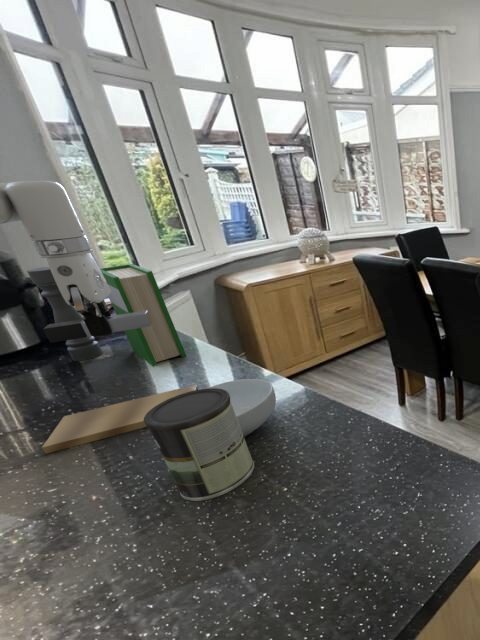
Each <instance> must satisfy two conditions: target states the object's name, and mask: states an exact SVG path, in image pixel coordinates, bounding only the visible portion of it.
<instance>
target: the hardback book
mask: <svg viewBox="0 0 480 640" xmlns="http://www.w3.org/2000/svg"><path fill="white" fill-rule="evenodd" d="M100 270H101V272H102V274H103V276H104V278H105V280H106V282H107V284H108V286H109V288H110V290H111V293H110V295H109V296H108V299H109V301H110V304H111V306H112V308H113V310H114V312H115V315H120V314H127V313H134V312H140V311H148V313H149V315H150V318H151V320H152V322H153V323H152V324H151V326H149V327H143V328H137V329H131V330H125V331H123V332H124V334H125V335H126V338H127V340H128V342H129V344H130V347H131V348H132V351H133V352H134V353H135V354H136V355H137V356H139V357H140V358H141V359H143V360H144V361H145V362H147V363H148V364H149V365H151V366H152V367H156V366H158V362H162V361H164V360H168V359H171V358H175V357H178V356H180V357H181V358H185V357H187V354H186V352H185V349H184V347H183V344H182V342H181V339H180V337H179V334H178V331H177V329H176V327H175V324H174V322H173V319H172V317H171V315H170V312H169V309H168V307H167V305H166V303H165V300H164V297H163V294H162V292H161V290H160V288H159V285H158V283H157V280H156V278H155V275H154V273H153V271H152V270H151V269H148V268H144V267H142V266H140V265H136V264H134V263H128V264H127V263H126V264H122V265H121V264H120V265H115V266H114V265H113V266H109V267H102V268H100Z"/></svg>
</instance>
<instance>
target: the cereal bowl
mask: <svg viewBox="0 0 480 640" xmlns="http://www.w3.org/2000/svg"><path fill="white" fill-rule="evenodd" d="M208 388H218V389H223V390H226V391H227V392H228V393H229V395H230V401H231V404H232V406H233V409H234V412H235V415H236V417H237V420H238V423H239V425H240V428H241V431H242V433H243V436H244V438H245V437H247V436H249V435H250V434H251V433H253V432H254V431H255V430H257V429H258V428H260V427H261V426H262V425H263V424H265V422H267V421H268V419H270V417H271V415H272V414H273V412H274V410H275V408H276V404H277V403H276V402H277V400H276V399H277V397H276V393H275V389H274V386H273V384H272V383H271V382H270V381H268V380H265V379H260V378H243V379H235V380H229V381H226V382H221V383H219V384H214V385H212V386H209V387H206V388H205V389H208Z"/></svg>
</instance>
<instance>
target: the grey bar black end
mask: <svg viewBox="0 0 480 640" xmlns="http://www.w3.org/2000/svg"><path fill="white" fill-rule="evenodd" d="M105 318H106V320H107V322H108V324H109V326H110V329H111V331H112V332H111V333H110V334H113V333H119V332H124V331H125V330H131V329H137V328H143V327H149V326H151V324H152V323H153V322H152V320H151V318H150V315H149V313H148V311H140V312H134V313H127V314H120V315H117V314H115V315H111V316H107V317H105ZM42 330H43V332H44V334H45V336H46V337H47V339H48V341H49V343H50V344H53V343H54V344H55V343H60V342H67V340H72V339H78V338H84V337H90V336H91V334H90V332H89V330H88V328H87V326H86V324H85V322H84V320H83V319H81V320H74V321H68V322H61V323H55V322H54V323H49V324H47V325H46V326H45V327H44V328H42Z"/></svg>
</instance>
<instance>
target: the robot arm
mask: <svg viewBox="0 0 480 640" xmlns="http://www.w3.org/2000/svg"><path fill="white" fill-rule="evenodd" d="M74 208H75V207H74V206H73V203H72V202H71V200H70V198H69V195H68V193H67V191H66V189H65V187H64V186H63V185H62V184H60V183H59V182H57V181H53V180H23V181H20V180H19V181H11V182H0V225H2V224H7V223H13V222H18V221H20V222H21V224H22V226H23V228H24V230H25V231H26V233H27V235H28V237H29V239H30V241H31V244H32V245H33V247H34V249H35V251H36V253H37V255H38V257H39V259H46V262H47V265H48V267H50V270H51V272H52V275H53V277H54V279H55V282H56V284H57V286H58V288H59V290H60V292H61V294H62V296H63V298H64V299H65V301H66V303H67V304H68V305H70V306H74V307H75V310H76V311H77V312H79V313H80V315H81V317H82V319H83V320H84V322H85V324H86V326H87V328H88V330H89V332H90V334H91V336H93V337H98V336H105V335H110V334H112V333H111V332H112V331H111V329H110V326H109V324H108V322H107V320H106V318H105V317H107V316H112V314H111V312H110V310H109V307H108V305H107V303H106V301H105V300H106V299H107V297H108V296H109V295H110V293H111V290H110V288H109V286H108V284H107V282H106V280H105V278H104V276H103V274H102V272H101V270H100V269H101V268H100V267H99V264H98V263H97V261H96V260H95V258H94V256H93V254H92V253H93V252H94V250H93V248H92V246H91V243H90V241H89V239H88V237H87V235H86V233H85V230H84V229H83V226H82V224H81V222H80V219H79V217H78V215H77V212H76V211H75V209H74ZM108 298H109V297H108Z"/></svg>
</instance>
